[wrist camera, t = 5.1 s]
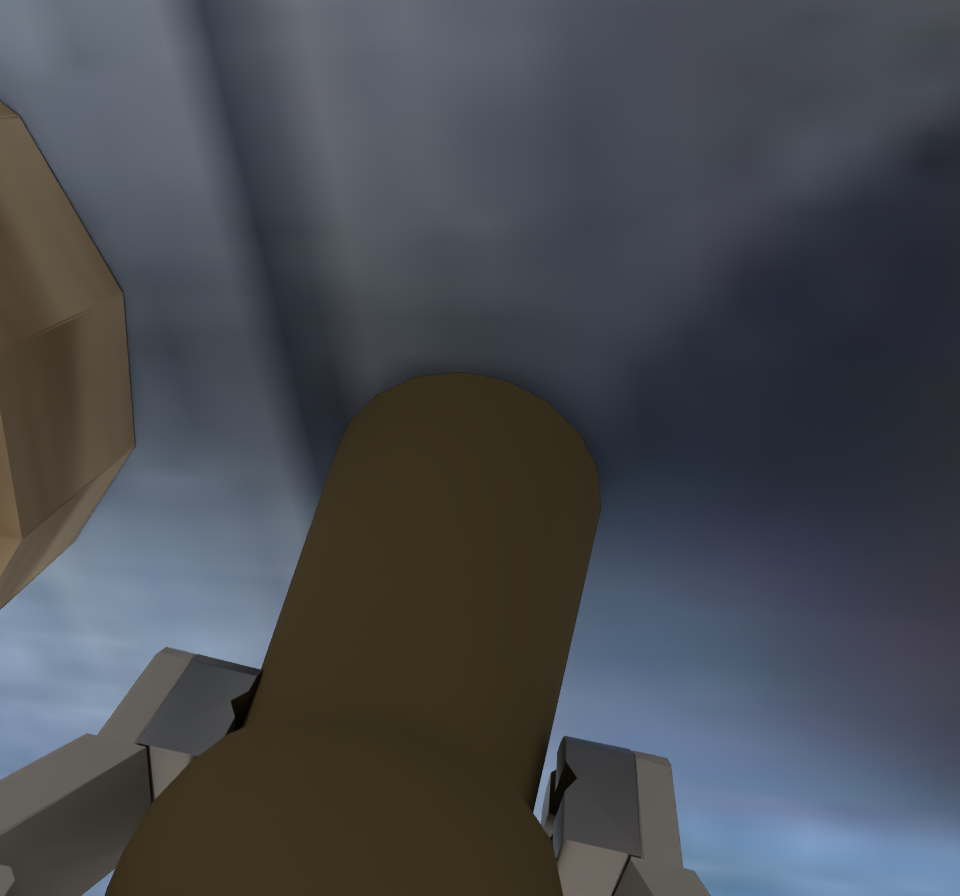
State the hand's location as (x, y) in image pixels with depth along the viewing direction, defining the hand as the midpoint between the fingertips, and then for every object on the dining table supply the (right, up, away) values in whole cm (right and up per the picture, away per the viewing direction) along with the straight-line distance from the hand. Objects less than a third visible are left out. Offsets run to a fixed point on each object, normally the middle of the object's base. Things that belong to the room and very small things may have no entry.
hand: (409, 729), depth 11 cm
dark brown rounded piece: (+1, +3, +6) cm, 7 cm away
